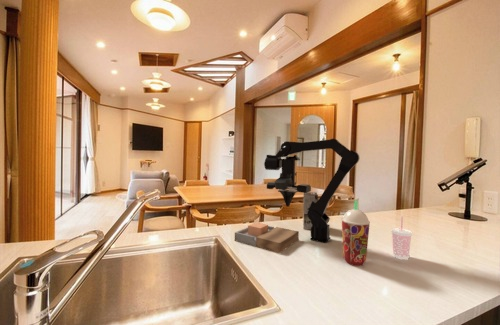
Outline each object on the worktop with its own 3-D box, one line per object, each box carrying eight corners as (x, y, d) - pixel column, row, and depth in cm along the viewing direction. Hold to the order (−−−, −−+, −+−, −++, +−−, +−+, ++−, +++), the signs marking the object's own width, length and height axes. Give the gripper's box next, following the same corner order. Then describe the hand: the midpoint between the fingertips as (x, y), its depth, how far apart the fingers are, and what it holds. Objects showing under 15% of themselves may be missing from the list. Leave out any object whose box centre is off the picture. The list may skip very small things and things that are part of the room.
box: (276, 234, 104) (276, 227, 104) (255, 246, 91) (255, 237, 91) (256, 230, 110) (256, 223, 110) (234, 240, 97) (234, 232, 97)
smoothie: (366, 270, 73) (368, 204, 72) (338, 263, 77) (339, 201, 77) (370, 260, 80) (371, 200, 79) (343, 254, 84) (344, 197, 84)
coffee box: (317, 230, 111) (318, 195, 111) (303, 229, 113) (303, 194, 112) (316, 224, 120) (316, 192, 120) (302, 223, 122) (303, 191, 121)
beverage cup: (387, 255, 84) (388, 215, 83) (394, 251, 88) (396, 213, 87) (407, 262, 79) (408, 219, 78) (414, 257, 83) (415, 217, 82)
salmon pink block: (267, 232, 101) (268, 224, 101) (260, 237, 96) (260, 228, 96) (255, 230, 104) (255, 222, 104) (247, 234, 99) (248, 225, 99)
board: (298, 239, 98) (298, 231, 98) (279, 252, 85) (279, 243, 85) (276, 234, 104) (276, 226, 104) (256, 246, 91) (256, 237, 91)
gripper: (260, 170, 104) (259, 206, 104) (301, 173, 93) (300, 213, 93) (273, 169, 113) (272, 202, 113) (311, 171, 102) (311, 208, 103)
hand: (287, 206), depth 105 cm, fingers closed
